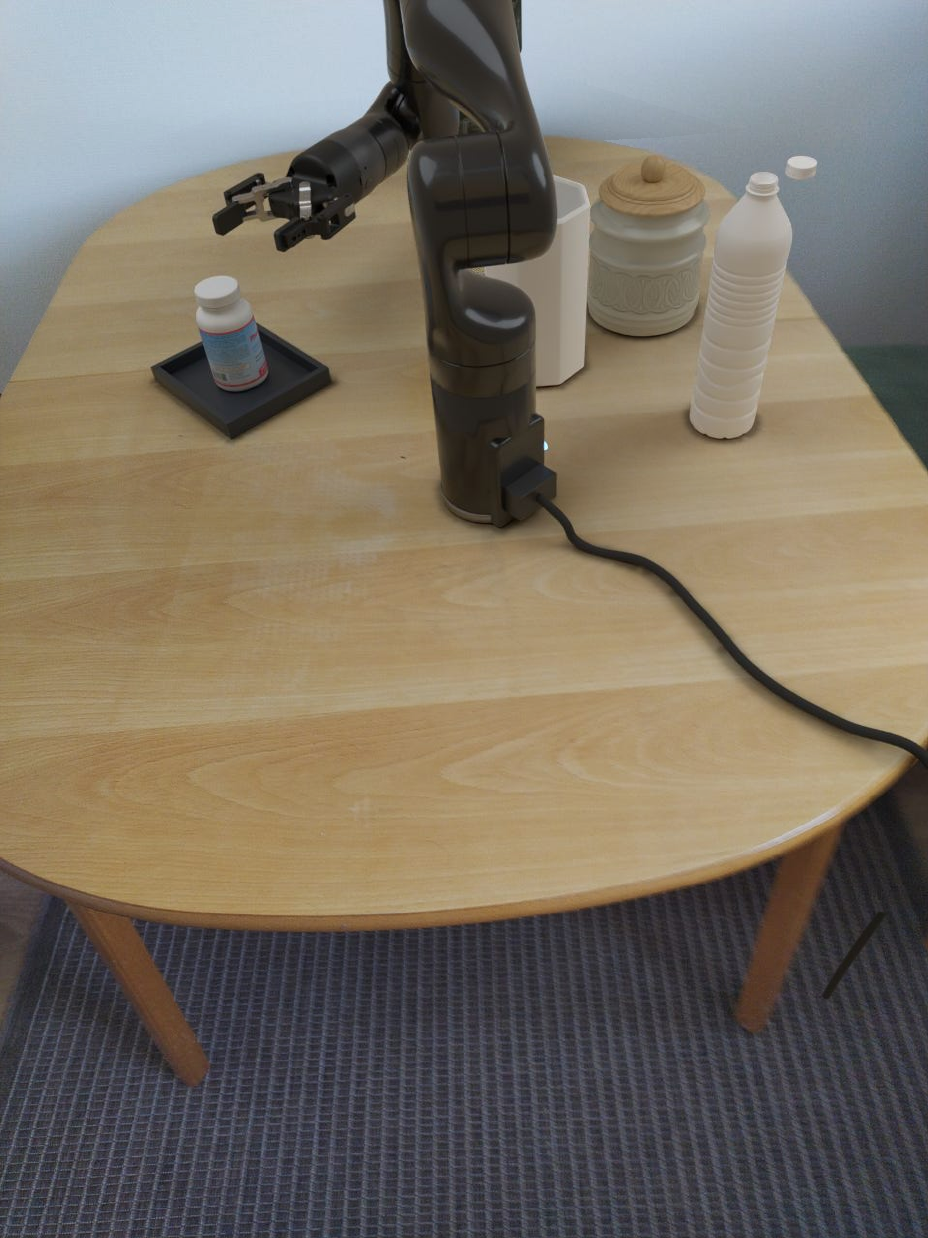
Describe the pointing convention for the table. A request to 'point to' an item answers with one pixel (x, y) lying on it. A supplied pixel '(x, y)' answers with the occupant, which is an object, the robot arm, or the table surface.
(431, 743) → the table surface
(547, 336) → the cup
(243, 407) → the tray
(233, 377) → the pill bottle
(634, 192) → the jar
